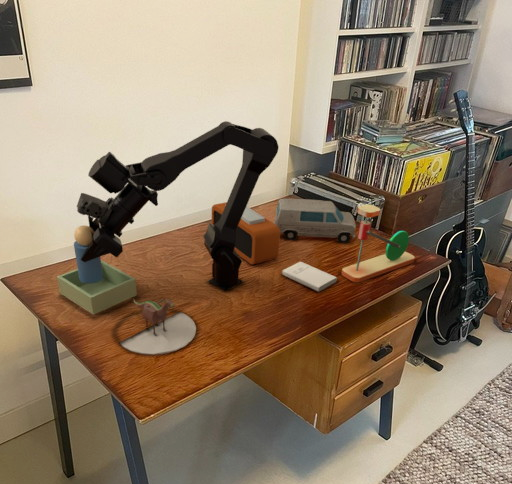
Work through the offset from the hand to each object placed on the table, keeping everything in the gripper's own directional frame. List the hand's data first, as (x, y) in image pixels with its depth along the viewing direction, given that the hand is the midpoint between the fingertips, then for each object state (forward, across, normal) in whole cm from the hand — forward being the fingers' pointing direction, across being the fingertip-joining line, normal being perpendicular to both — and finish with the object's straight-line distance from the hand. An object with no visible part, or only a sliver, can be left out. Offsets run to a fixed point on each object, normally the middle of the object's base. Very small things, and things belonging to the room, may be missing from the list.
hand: (81, 255), depth 121 cm
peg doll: (+3, 0, +5) cm, 6 cm away
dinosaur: (-1, +17, +18) cm, 25 cm away
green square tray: (+6, 0, +10) cm, 12 cm away
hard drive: (-32, +3, +49) cm, 59 cm away
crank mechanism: (-48, +1, +65) cm, 80 cm away
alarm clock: (-24, -19, +41) cm, 51 cm away
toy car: (-41, -23, +58) cm, 74 cm away
